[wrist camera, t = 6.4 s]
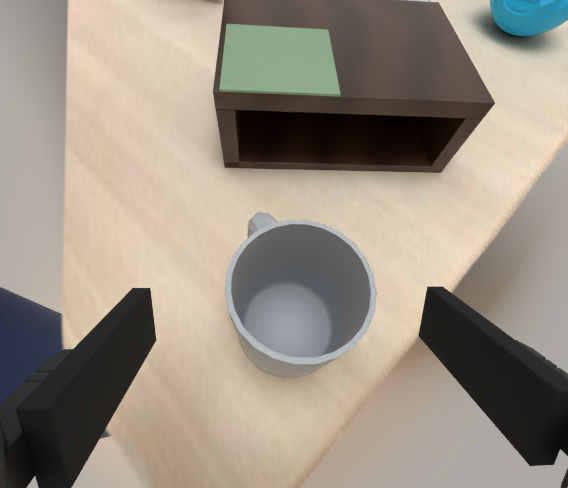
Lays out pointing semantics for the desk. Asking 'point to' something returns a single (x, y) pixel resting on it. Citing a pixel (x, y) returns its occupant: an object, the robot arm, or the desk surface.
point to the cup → (298, 295)
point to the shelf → (343, 85)
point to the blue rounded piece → (529, 15)
